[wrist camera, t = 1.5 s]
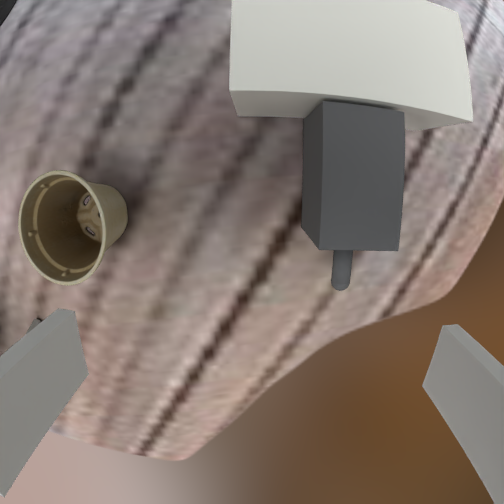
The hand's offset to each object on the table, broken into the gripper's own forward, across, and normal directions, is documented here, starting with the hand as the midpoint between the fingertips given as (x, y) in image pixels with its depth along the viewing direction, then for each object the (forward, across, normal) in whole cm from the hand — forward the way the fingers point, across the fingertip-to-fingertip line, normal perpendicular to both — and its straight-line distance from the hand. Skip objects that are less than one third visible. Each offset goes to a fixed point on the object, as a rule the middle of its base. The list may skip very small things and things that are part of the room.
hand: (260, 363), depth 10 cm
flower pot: (+21, -16, +2) cm, 27 cm away
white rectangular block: (+21, +6, +16) cm, 27 cm away
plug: (+20, +7, +7) cm, 22 cm away
